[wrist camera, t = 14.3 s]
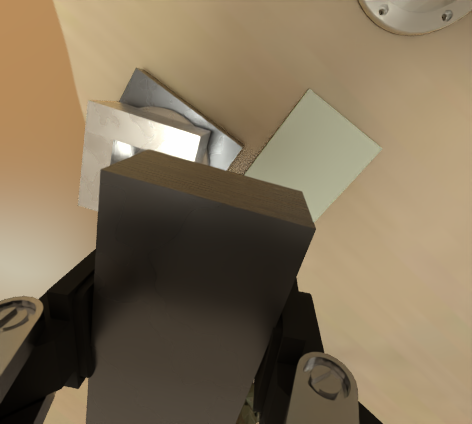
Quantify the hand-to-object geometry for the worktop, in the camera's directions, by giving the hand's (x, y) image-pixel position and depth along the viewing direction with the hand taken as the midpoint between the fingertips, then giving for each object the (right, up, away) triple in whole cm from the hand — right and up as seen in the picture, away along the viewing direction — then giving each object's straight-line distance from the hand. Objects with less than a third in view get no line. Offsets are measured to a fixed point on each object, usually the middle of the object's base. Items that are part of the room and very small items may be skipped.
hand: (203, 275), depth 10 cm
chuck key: (+1, +2, +6) cm, 6 cm away
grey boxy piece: (-7, +8, +20) cm, 22 cm away
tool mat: (+9, +8, +21) cm, 24 cm away
